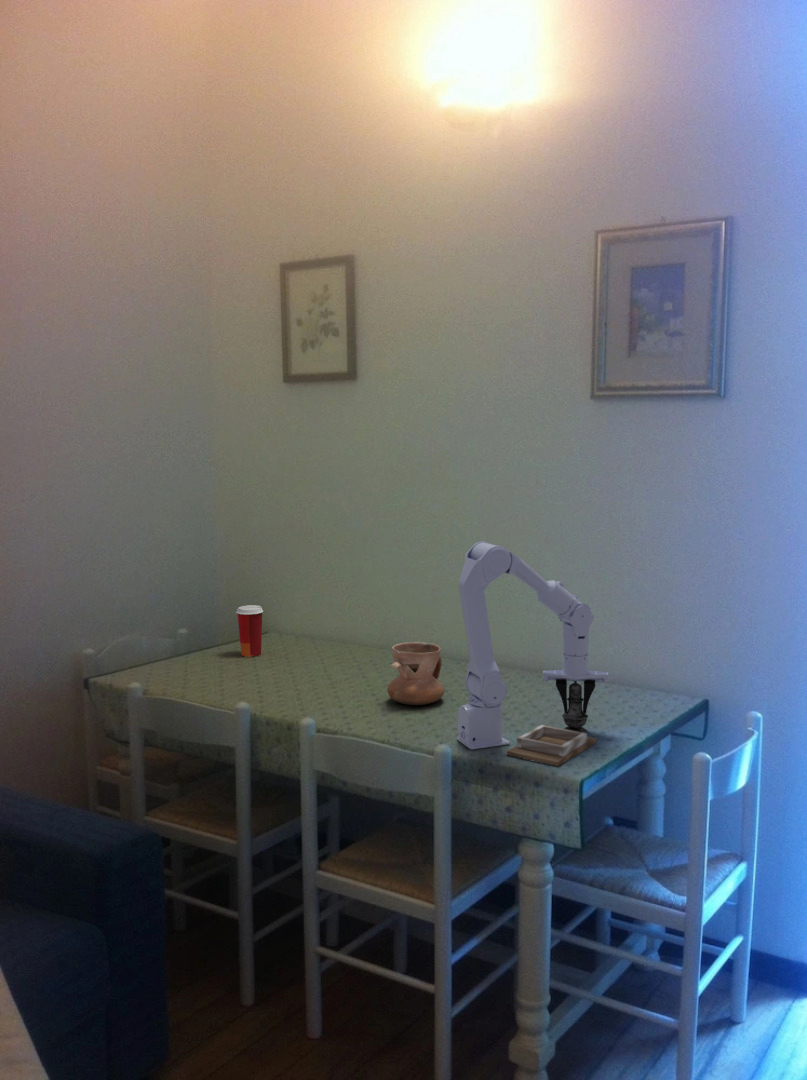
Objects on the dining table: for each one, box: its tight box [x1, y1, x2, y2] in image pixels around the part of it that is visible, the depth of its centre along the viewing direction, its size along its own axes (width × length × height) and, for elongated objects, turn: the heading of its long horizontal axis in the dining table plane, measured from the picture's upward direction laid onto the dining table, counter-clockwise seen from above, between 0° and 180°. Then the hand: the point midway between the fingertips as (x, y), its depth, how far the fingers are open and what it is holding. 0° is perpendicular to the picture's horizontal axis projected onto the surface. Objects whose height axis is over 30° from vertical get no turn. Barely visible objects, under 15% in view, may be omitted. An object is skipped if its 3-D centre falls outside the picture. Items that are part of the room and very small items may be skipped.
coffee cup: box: [235, 604, 264, 658], centre depth 297 cm, size 8×8×15 cm
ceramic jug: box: [386, 641, 445, 706], centre depth 245 cm, size 18×14×14 cm
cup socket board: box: [506, 724, 597, 767], centre depth 208 cm, size 18×12×3 cm, turn 144°
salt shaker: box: [561, 681, 589, 733], centre depth 219 cm, size 6×6×12 cm
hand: (575, 711), depth 219 cm, fingers closed on salt shaker, 3 cm apart
